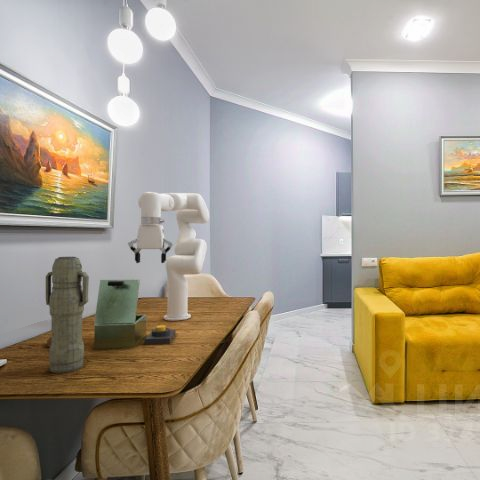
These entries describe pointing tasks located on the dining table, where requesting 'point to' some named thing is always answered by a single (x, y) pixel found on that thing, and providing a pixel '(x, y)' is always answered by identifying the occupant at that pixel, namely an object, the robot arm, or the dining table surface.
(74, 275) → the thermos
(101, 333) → the green box
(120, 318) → the lid
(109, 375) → the dining table surface
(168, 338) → the control box
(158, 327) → the button
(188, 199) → the robot arm
